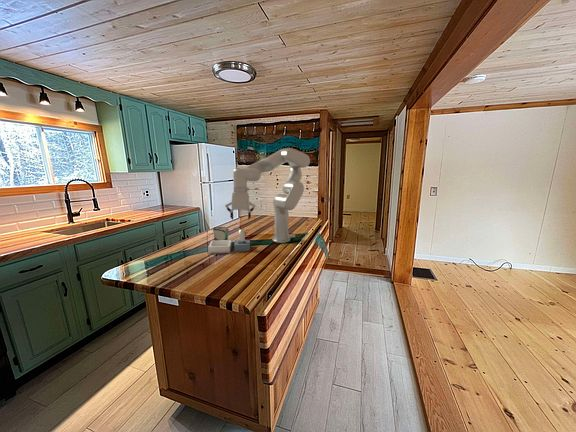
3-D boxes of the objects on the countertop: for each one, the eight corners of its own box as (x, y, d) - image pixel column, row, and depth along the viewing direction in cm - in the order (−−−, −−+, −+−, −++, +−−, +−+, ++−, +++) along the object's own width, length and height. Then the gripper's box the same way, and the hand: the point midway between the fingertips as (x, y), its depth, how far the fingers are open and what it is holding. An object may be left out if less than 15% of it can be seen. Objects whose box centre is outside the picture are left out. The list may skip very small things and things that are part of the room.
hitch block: (249, 246, 147) (249, 239, 146) (249, 250, 139) (249, 244, 138) (235, 246, 146) (235, 240, 145) (234, 251, 137) (234, 245, 136)
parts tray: (231, 246, 147) (231, 239, 146) (229, 252, 135) (229, 246, 134) (211, 246, 145) (211, 240, 144) (208, 253, 133) (208, 247, 133)
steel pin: (245, 247, 144) (244, 229, 142) (245, 249, 141) (244, 230, 138) (239, 248, 143) (239, 229, 141) (239, 249, 140) (238, 230, 138)
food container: (233, 242, 153) (233, 228, 151) (226, 245, 148) (225, 230, 146) (220, 239, 159) (219, 225, 157) (213, 242, 154) (212, 227, 152)
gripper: (255, 189, 140) (255, 217, 143) (225, 189, 137) (226, 217, 140) (255, 190, 133) (255, 220, 136) (224, 190, 130) (225, 220, 133)
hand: (240, 219), depth 138 cm, fingers open, 9 cm apart
